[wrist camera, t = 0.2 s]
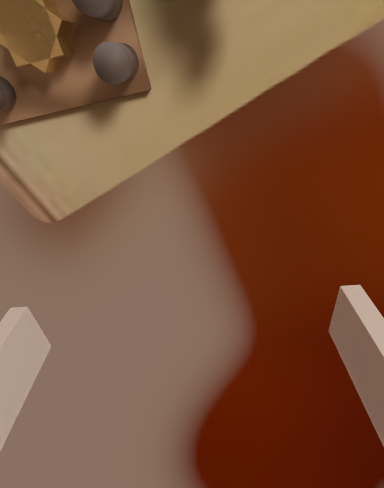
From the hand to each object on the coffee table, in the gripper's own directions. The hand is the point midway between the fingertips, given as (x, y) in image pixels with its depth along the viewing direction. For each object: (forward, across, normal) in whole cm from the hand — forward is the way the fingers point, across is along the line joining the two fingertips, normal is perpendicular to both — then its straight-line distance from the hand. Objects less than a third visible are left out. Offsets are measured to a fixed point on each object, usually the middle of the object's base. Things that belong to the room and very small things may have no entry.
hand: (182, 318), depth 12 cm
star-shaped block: (+26, -13, +13) cm, 32 cm away
